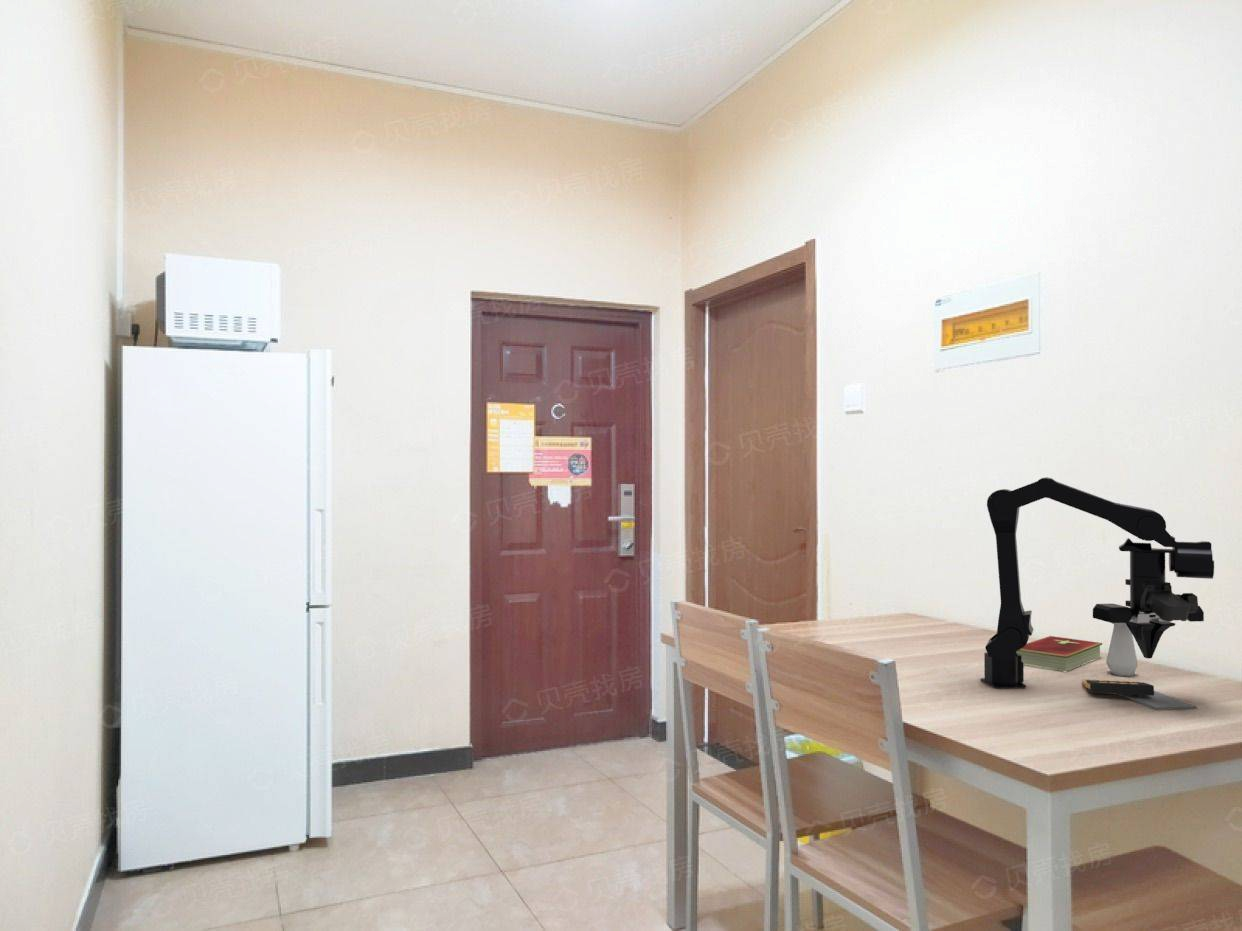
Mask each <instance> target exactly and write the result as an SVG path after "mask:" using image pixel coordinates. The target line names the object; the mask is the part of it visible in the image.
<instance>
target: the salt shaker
mask: <svg viewBox="0 0 1242 931" xmlns="http://www.w3.org/2000/svg"><path fill="white" fill-rule="evenodd" d="M1111 624H1113V629H1112V634H1111V636H1110V637H1111V639H1110V643H1109V646H1108V651H1107V652H1108V653H1107V656H1106V659H1105V663H1106V665H1107V667H1108V669H1109V670H1110V672H1111V675H1114V676H1119V677H1133V676H1134V675H1135V673H1136V670H1137V669H1138V667H1139V666H1138V665H1139V664H1138V658H1137V653H1136V649H1135V643H1134V639H1133V638H1134V636H1133V634H1132V633H1131V631H1130V630H1129V628H1128V627H1127V625H1126V623H1111Z"/></svg>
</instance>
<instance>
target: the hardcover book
mask: <svg viewBox="0 0 1242 931" xmlns="http://www.w3.org/2000/svg"><path fill="white" fill-rule="evenodd" d="M1102 645H1103V642H1098V641H1092V640H1083V639H1076V638H1068V637H1060V636H1054V635H1049V636H1046V637H1044V638H1040V639H1037V640H1034V641H1031V642H1027V644H1026V645H1025V646H1024V647H1023V648H1022V649H1019V650H1017V652H1016V653H1017V654H1019V655H1021V662H1023V663H1024V666H1027V665H1029V666H1028V667H1033V666H1034V668H1039V667H1041V668H1040V669H1045V668H1047V669H1046V670H1051V669H1053V670H1052V671H1057V670H1059V671H1058V672H1063V671H1067V672H1069V671H1071V670H1070V669H1072V670H1074V669H1076V668H1075V667H1077V668H1078V666H1079V667H1081V666H1080V665H1082V664H1084V663H1086V664H1088V663H1087V662H1089V661H1091V660H1094V659H1096V660H1098V659H1097V658H1099V659H1101V646H1102ZM1094 661H1095V660H1094ZM1091 662H1092V661H1091ZM1089 663H1090V662H1089ZM1084 665H1085V664H1084ZM1082 666H1083V665H1082ZM1073 668H1074V669H1073ZM1068 670H1069V671H1068Z"/></svg>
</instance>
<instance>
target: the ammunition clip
mask: <svg viewBox="0 0 1242 931" xmlns="http://www.w3.org/2000/svg"><path fill="white" fill-rule="evenodd" d="M1081 683H1082V684H1083V686H1084V687H1085V688H1086V690H1087V691H1088V692H1089V693H1091V694H1093V693H1094V694H1109V695H1111V694H1113V695H1117V694H1131V695H1152V696H1154V691H1155V688H1154V687H1155V686H1154V685H1153V684H1150V683H1148V682H1141V681H1128V680H1122V681H1121V680H1120V681H1119V680H1109V679H1108V680H1105V679H1103V680H1099V679H1091V680H1090V679H1087V678H1086V679H1085V678H1084V679H1082V680H1081Z"/></svg>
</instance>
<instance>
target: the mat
mask: <svg viewBox="0 0 1242 931" xmlns="http://www.w3.org/2000/svg"><path fill="white" fill-rule="evenodd" d="M1116 695H1117V696H1120V697H1123V698H1125V699H1128V700H1131V701H1133V702H1134V703H1138V704H1140V705H1143V706H1146V707H1148V708H1150V709H1152V710H1153V709H1154V710H1156V711H1157V710H1179V709H1180V710H1186V709H1187V710H1189V709H1192V710H1194V709H1198V706H1197V705H1195V704H1192V703H1189V702H1186V701H1183V700H1181V699H1179V698H1176V697H1173V696H1170V695H1167V694H1165V693H1161V692H1159V691H1156V690H1154V696H1152V695H1131V694H1116Z"/></svg>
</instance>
